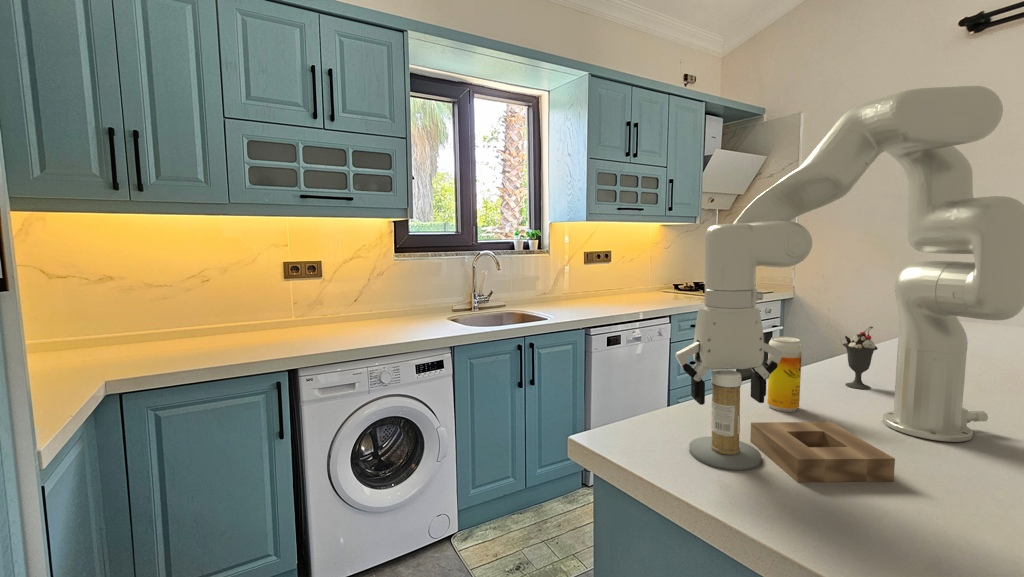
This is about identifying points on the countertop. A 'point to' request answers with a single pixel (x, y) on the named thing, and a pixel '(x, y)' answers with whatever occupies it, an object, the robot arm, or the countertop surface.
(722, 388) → the sprinkles bottle
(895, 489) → the countertop surface
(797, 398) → the beer can
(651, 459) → the countertop surface
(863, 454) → the walnut pocket block
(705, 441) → the slate coaster
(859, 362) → the sundae
